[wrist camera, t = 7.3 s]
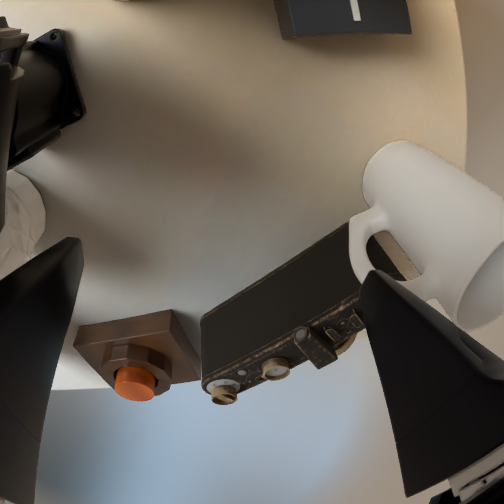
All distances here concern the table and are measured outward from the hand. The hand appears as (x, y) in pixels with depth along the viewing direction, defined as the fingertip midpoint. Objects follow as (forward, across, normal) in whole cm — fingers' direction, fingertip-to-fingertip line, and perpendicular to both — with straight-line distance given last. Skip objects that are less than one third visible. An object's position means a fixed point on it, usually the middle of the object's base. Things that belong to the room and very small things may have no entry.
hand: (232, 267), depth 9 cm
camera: (+12, -8, +11) cm, 18 cm away
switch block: (+12, +5, +20) cm, 23 cm away
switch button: (+8, +5, +20) cm, 22 cm away
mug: (+12, -12, 0) cm, 17 cm away
